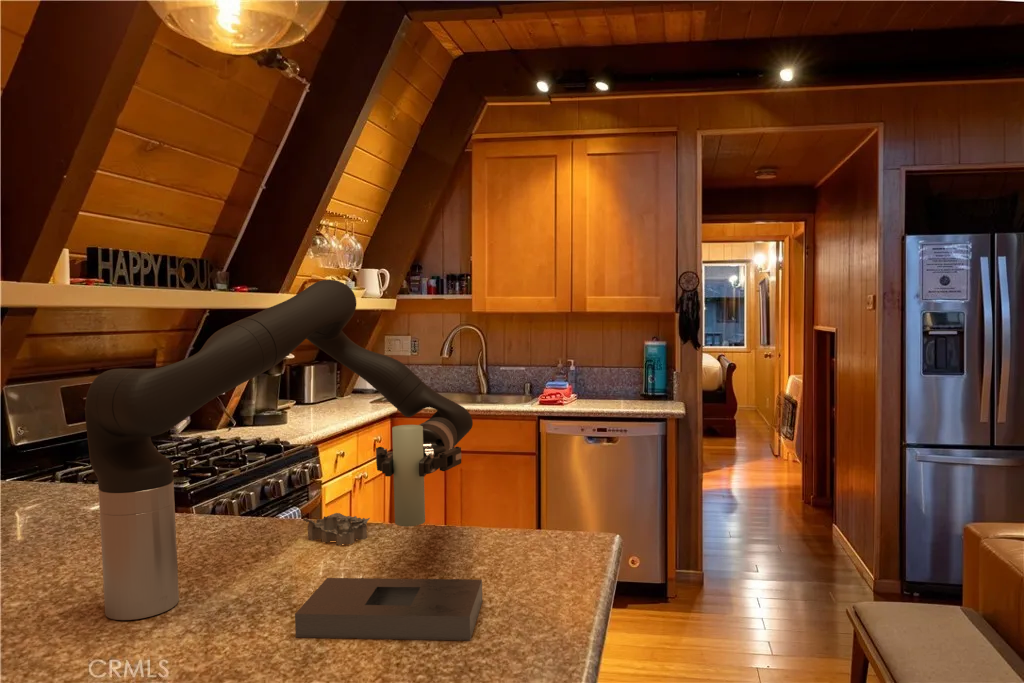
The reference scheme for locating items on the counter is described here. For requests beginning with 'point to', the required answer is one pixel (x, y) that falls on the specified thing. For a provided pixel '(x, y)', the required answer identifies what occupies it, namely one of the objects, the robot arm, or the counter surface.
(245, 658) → the counter surface
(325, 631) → the brown block with hole
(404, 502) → the peg
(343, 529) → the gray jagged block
